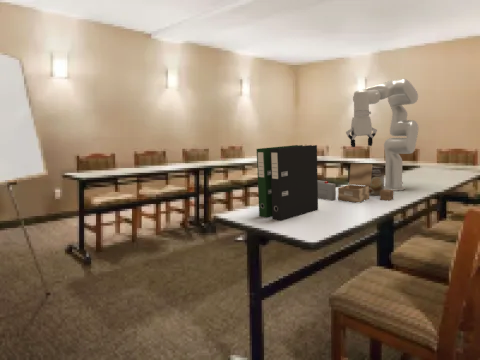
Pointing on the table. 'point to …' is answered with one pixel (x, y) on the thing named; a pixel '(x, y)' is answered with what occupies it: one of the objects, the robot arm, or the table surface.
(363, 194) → the carton
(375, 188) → the coffee box
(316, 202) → the ring binders
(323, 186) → the cassette player
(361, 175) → the lid
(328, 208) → the table surface
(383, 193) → the walnut block
